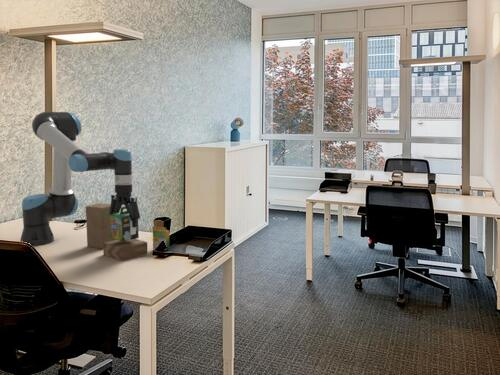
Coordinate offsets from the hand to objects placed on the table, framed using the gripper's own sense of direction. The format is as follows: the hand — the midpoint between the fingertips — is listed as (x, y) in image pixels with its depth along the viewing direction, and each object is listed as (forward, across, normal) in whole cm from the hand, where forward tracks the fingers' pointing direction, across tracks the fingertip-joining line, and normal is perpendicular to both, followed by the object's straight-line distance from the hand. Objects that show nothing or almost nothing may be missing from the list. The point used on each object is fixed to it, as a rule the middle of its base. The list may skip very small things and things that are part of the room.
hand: (124, 232), depth 207 cm
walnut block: (+11, 0, 0) cm, 11 cm away
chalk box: (+3, 0, 0) cm, 3 cm away
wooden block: (+10, -20, +4) cm, 23 cm away
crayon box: (+10, +9, +14) cm, 20 cm away
